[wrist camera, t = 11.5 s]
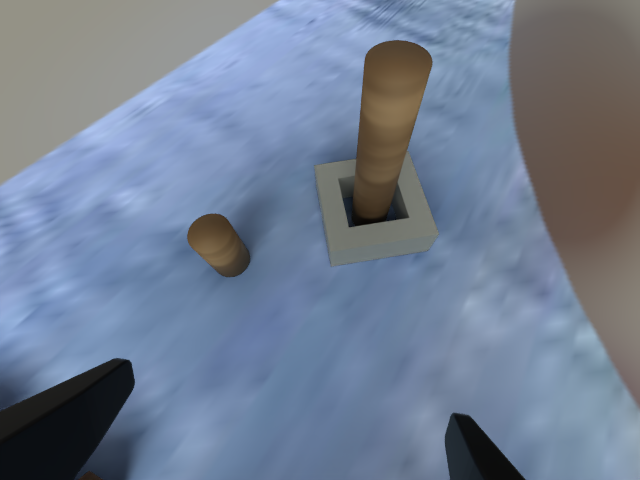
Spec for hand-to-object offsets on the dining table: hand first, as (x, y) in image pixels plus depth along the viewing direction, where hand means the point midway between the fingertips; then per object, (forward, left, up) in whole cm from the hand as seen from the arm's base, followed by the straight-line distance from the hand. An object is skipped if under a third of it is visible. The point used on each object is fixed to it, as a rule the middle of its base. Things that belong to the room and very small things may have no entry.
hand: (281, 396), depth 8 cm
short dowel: (+11, +5, -14) cm, 18 cm away
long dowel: (+13, -7, -14) cm, 20 cm away
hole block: (+13, -7, -14) cm, 20 cm away
